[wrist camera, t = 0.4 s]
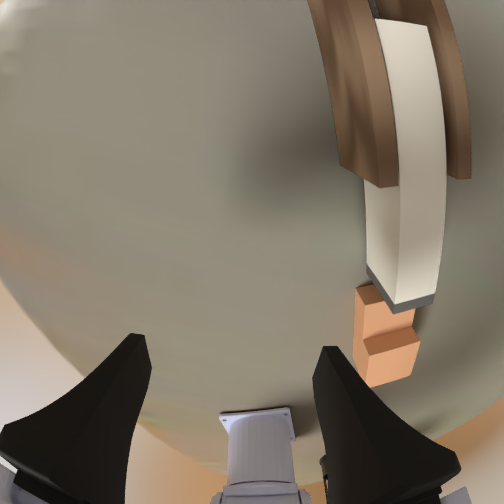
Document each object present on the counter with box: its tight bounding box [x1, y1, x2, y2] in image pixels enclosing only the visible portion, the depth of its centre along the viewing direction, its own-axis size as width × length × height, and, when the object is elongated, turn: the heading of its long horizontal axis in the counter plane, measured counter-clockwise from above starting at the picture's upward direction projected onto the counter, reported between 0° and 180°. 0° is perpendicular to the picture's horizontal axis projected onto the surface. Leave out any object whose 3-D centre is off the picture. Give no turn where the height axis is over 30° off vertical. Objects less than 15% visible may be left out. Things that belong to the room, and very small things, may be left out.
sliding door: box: [364, 19, 446, 315], centre depth 14 cm, size 16×3×5 cm, turn 11°
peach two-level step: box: [353, 284, 420, 388], centre depth 21 cm, size 8×4×4 cm, turn 11°
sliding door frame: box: [307, 0, 471, 188], centre depth 10 cm, size 20×6×6 cm, turn 11°
